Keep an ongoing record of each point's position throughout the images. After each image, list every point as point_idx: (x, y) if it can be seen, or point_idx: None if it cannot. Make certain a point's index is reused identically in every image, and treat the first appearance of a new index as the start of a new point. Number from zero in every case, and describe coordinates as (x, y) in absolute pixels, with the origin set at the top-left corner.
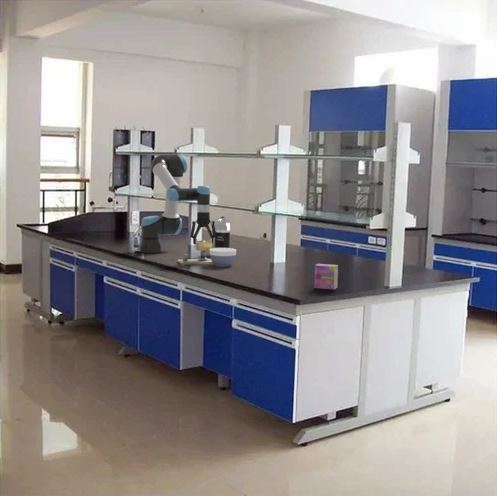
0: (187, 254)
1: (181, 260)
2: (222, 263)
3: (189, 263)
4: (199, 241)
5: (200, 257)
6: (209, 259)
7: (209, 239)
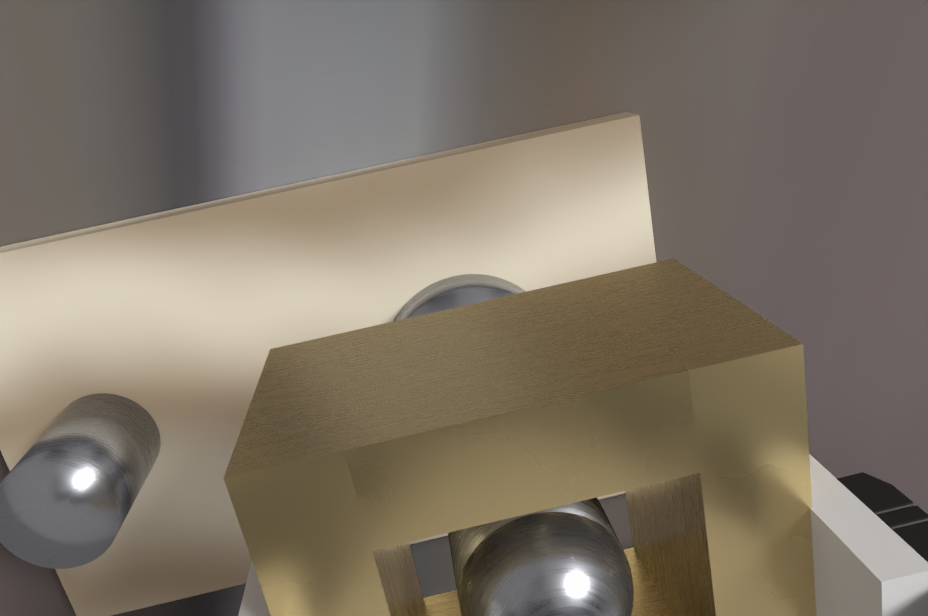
0: (107, 510)
1: (14, 363)
2: None
3: (203, 582)
4: (428, 523)
5: (428, 311)
6: (616, 241)
7: (846, 574)
